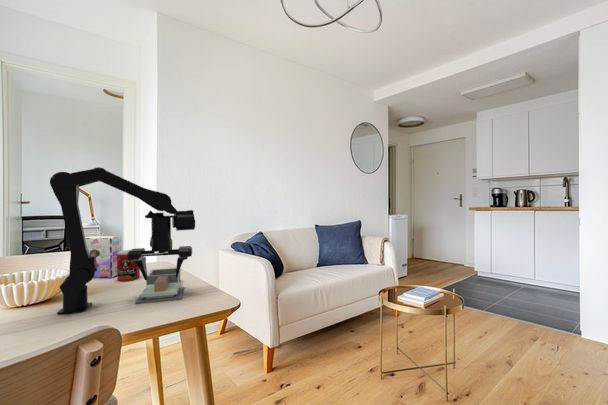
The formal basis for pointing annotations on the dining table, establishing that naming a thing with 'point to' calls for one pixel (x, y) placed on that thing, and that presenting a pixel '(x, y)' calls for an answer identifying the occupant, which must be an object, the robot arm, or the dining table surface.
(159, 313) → the dining table surface
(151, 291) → the lid
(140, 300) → the mat
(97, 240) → the candy box
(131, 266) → the canned food
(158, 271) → the storage box
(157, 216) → the robot arm
